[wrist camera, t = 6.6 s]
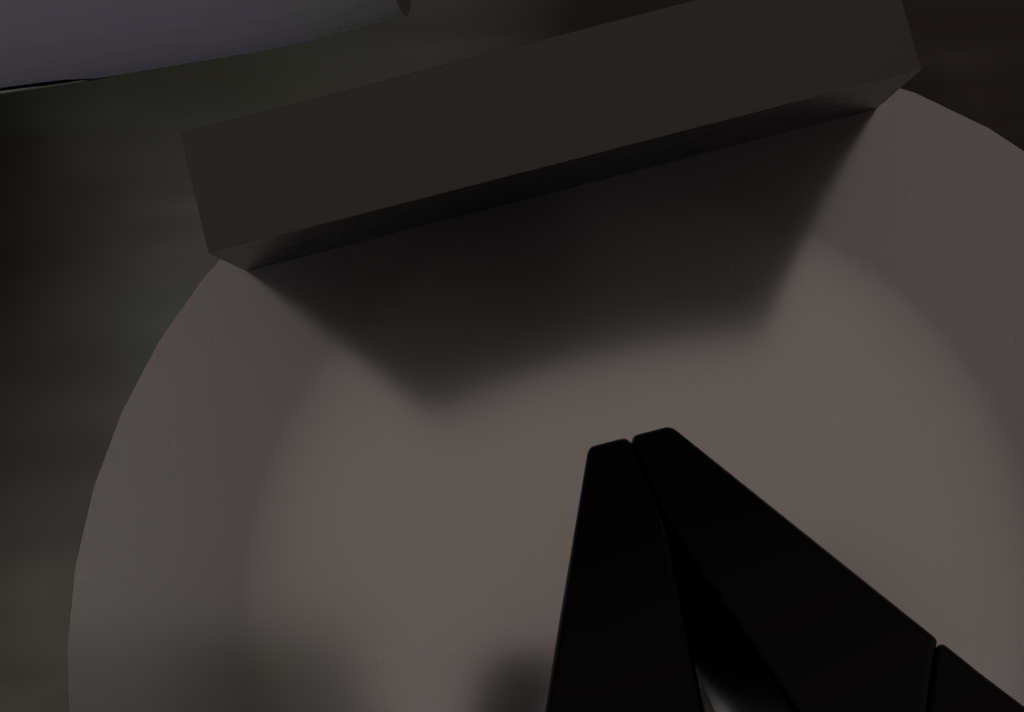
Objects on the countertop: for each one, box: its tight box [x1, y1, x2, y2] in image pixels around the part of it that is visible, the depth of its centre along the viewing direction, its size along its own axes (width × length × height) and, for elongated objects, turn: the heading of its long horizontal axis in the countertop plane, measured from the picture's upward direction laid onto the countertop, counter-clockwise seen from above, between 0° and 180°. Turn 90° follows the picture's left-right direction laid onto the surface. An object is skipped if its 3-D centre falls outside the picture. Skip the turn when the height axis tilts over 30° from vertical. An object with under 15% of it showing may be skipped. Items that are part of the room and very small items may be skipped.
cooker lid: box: [67, 0, 1024, 712], centre depth 10 cm, size 14×13×2 cm
